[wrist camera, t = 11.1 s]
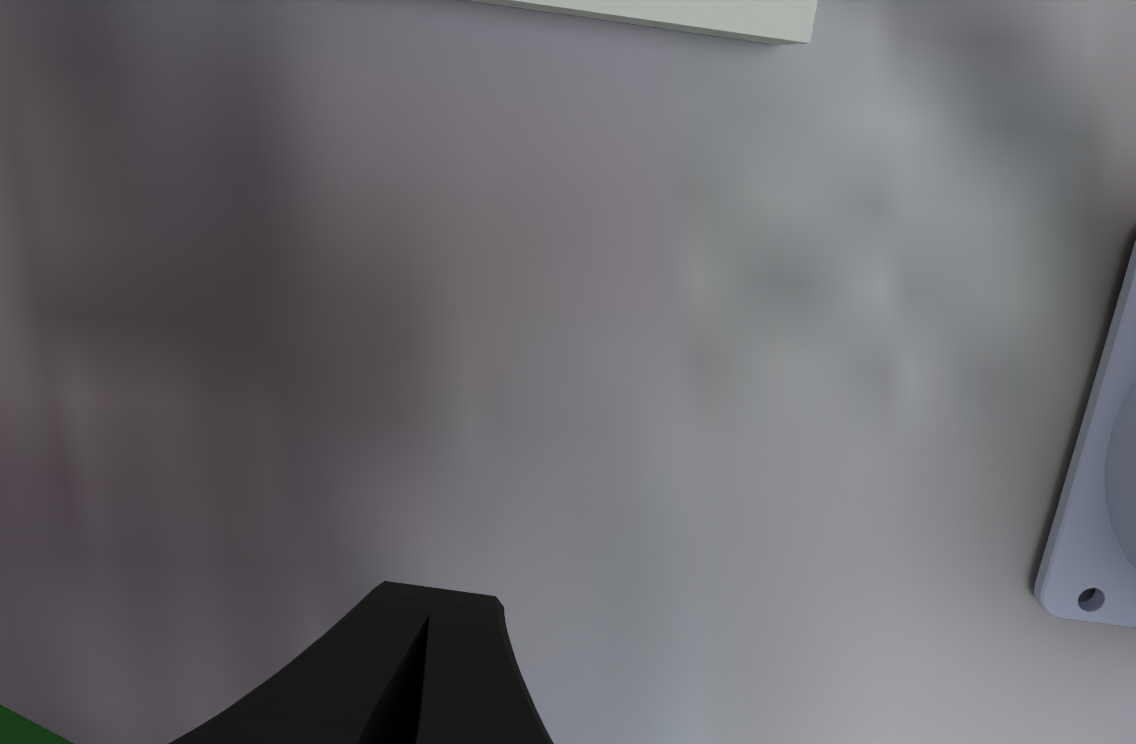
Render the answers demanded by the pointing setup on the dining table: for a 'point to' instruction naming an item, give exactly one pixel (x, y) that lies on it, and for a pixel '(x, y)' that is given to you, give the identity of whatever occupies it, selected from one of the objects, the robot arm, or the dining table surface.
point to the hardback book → (24, 730)
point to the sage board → (696, 16)
